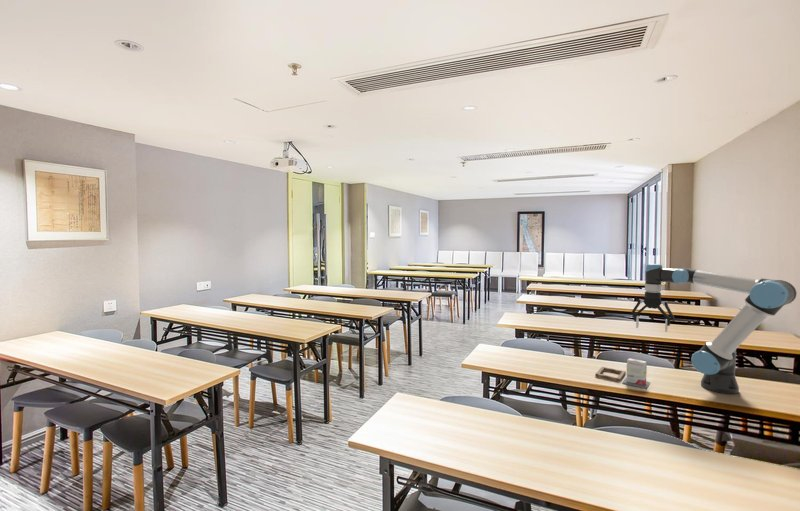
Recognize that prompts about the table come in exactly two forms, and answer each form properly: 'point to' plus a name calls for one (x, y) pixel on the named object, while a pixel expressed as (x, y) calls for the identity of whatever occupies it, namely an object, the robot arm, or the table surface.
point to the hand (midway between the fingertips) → (651, 329)
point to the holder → (618, 379)
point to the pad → (636, 384)
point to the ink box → (636, 371)
